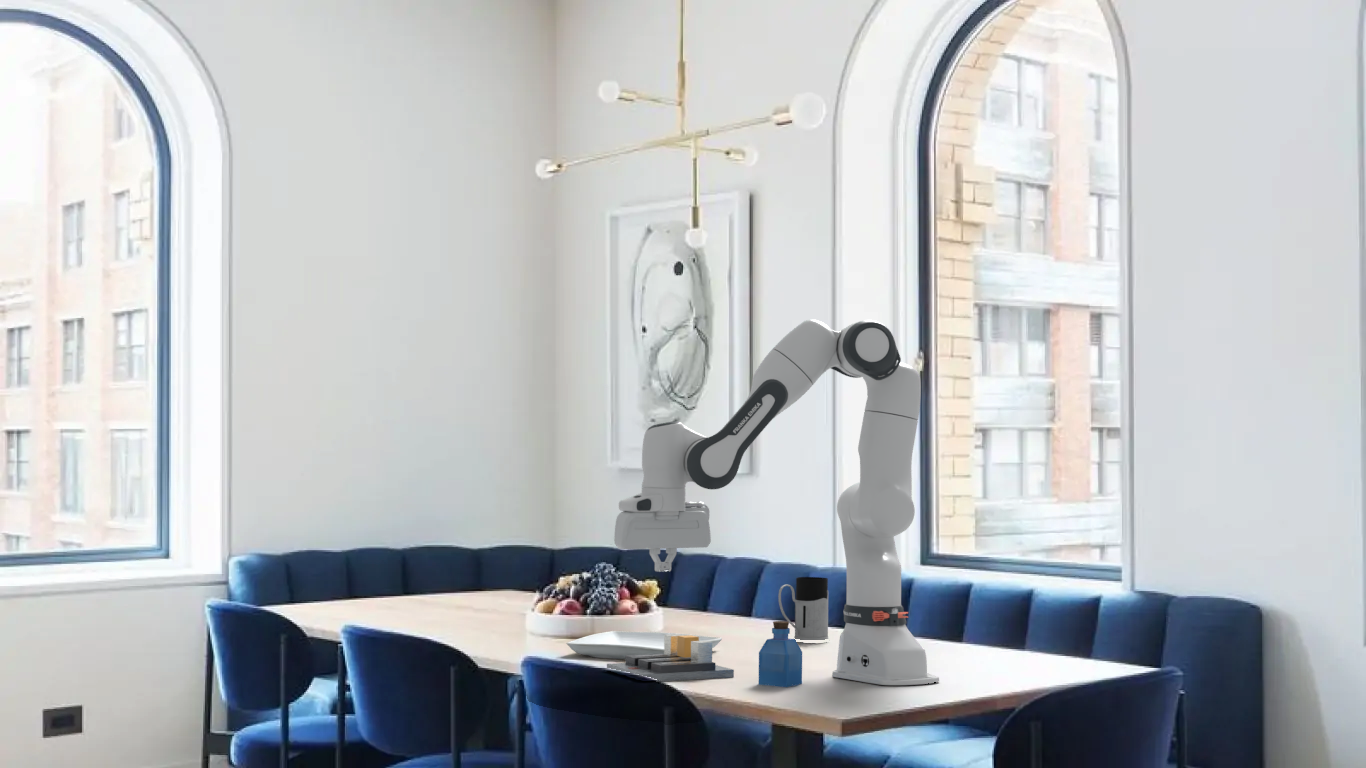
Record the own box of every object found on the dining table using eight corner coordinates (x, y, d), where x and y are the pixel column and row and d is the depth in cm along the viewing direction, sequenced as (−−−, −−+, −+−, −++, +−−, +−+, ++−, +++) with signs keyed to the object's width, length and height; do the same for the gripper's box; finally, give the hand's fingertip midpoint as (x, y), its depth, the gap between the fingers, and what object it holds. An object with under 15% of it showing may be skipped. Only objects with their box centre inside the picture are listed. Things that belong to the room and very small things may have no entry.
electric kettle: (837, 642, 397) (838, 578, 397) (789, 645, 389) (790, 580, 389) (814, 638, 404) (814, 576, 405) (767, 641, 396) (768, 578, 397)
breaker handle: (698, 656, 337) (698, 637, 337) (684, 657, 336) (684, 637, 336) (691, 655, 340) (691, 635, 340) (677, 655, 339) (677, 635, 339)
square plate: (563, 659, 361) (564, 641, 361) (612, 645, 386) (612, 629, 387) (682, 666, 351) (682, 647, 352) (723, 652, 377) (723, 635, 377)
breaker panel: (733, 677, 333) (734, 641, 333) (643, 682, 324) (643, 645, 324) (694, 666, 348) (695, 632, 348) (606, 671, 339) (607, 636, 339)
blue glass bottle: (786, 687, 320) (787, 624, 321) (758, 684, 323) (759, 622, 324) (801, 683, 325) (802, 621, 326) (773, 681, 329) (774, 619, 329)
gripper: (702, 501, 344) (701, 568, 343) (611, 502, 335) (610, 571, 334) (716, 502, 338) (716, 570, 338) (624, 503, 329) (624, 573, 328)
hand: (662, 571), depth 336 cm, fingers closed
